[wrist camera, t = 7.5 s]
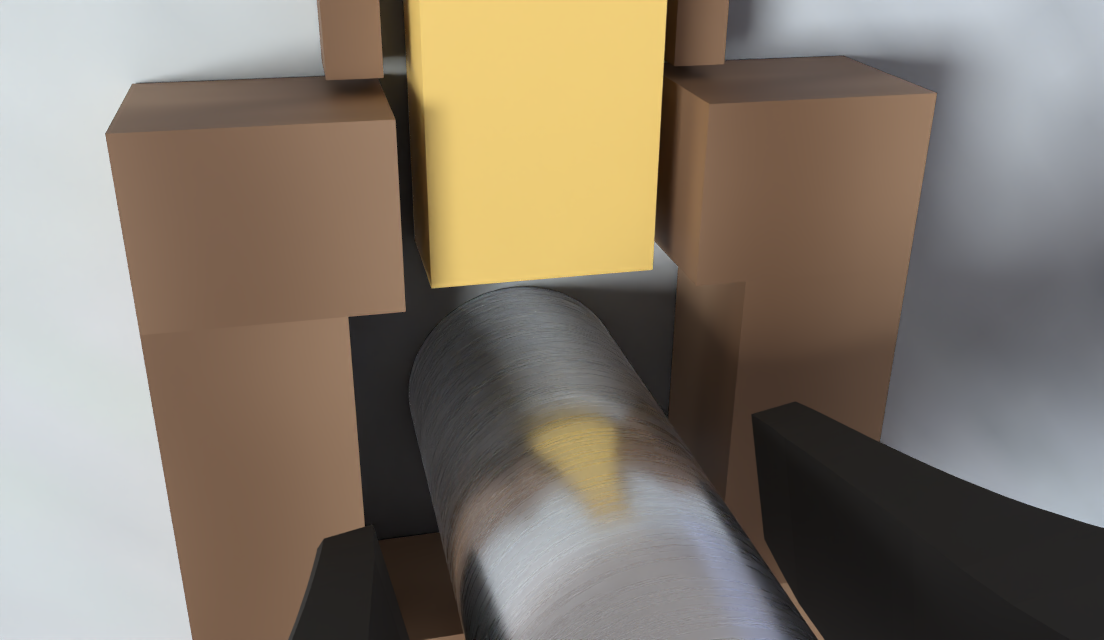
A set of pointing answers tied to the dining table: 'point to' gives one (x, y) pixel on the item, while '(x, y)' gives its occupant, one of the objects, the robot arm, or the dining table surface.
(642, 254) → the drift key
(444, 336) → the gray metallic cylinder
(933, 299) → the dining table surface
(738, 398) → the socket
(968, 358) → the dining table surface
